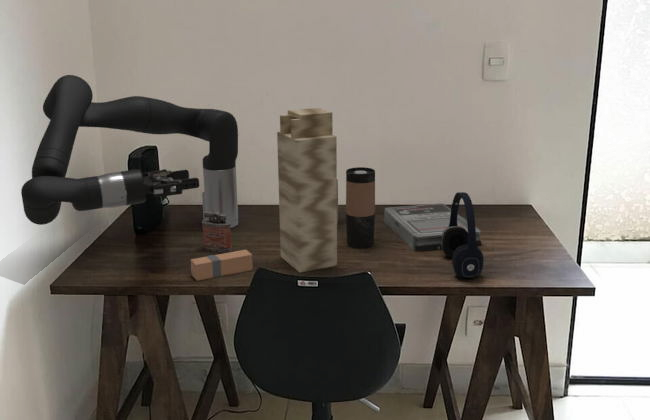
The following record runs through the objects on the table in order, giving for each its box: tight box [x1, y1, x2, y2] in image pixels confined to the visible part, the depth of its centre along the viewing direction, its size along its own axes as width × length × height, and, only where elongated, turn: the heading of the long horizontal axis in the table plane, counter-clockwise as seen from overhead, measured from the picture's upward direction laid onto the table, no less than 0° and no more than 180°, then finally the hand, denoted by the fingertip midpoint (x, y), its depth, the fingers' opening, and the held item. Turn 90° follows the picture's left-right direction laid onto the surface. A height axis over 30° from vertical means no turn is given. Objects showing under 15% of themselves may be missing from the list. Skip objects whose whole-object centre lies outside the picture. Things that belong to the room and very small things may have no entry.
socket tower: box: [276, 107, 338, 273], centre depth 170 cm, size 10×12×37 cm
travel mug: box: [345, 166, 376, 249], centre depth 184 cm, size 8×8×20 cm
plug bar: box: [190, 249, 254, 282], centre depth 168 cm, size 14×4×4 cm, turn 117°
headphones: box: [441, 191, 484, 280], centre depth 168 cm, size 20×7×18 cm, turn 2°
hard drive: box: [383, 202, 482, 252], centre depth 195 cm, size 18×27×4 cm
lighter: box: [201, 212, 233, 253], centre depth 183 cm, size 8×3×10 cm, turn 71°
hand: (193, 178), depth 160 cm, fingers open, 8 cm apart
